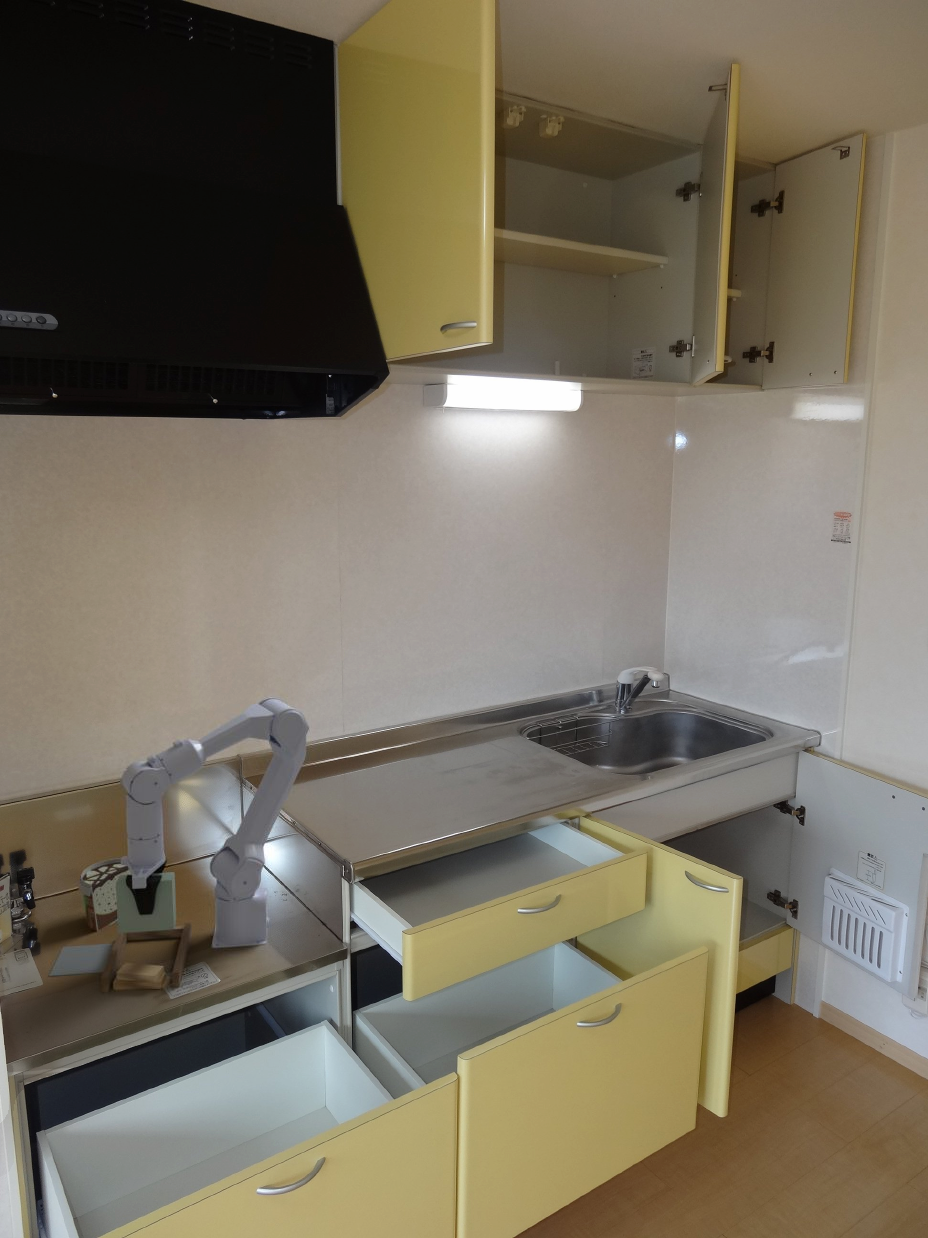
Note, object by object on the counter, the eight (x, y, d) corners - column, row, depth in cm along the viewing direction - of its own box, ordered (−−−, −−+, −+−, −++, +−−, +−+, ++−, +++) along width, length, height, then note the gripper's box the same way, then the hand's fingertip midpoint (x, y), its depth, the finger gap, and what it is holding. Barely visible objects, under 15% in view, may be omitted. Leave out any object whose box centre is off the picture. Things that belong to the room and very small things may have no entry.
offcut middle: (166, 978, 148) (165, 972, 148) (160, 989, 145) (160, 982, 145) (119, 978, 148) (119, 971, 148) (113, 988, 145) (113, 981, 145)
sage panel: (176, 920, 155) (174, 872, 153) (173, 929, 152) (172, 880, 150) (121, 924, 153) (119, 875, 151) (118, 933, 150) (115, 883, 149)
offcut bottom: (171, 983, 149) (171, 976, 149) (168, 993, 146) (167, 987, 146) (118, 986, 148) (118, 979, 147) (114, 996, 145) (114, 990, 145)
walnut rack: (191, 935, 162) (191, 920, 162) (179, 989, 146) (178, 972, 145) (122, 940, 160) (121, 924, 160) (101, 995, 144) (101, 978, 143)
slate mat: (117, 946, 158) (117, 943, 158) (106, 974, 149) (106, 971, 149) (63, 949, 157) (63, 947, 156) (49, 978, 148) (49, 976, 148)
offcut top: (163, 972, 148) (163, 966, 147) (155, 983, 145) (155, 976, 144) (125, 969, 148) (125, 962, 148) (116, 979, 145) (116, 972, 145)
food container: (114, 900, 174) (111, 852, 173) (139, 907, 172) (137, 858, 170) (65, 930, 163) (62, 879, 161) (91, 937, 161) (88, 885, 159)
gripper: (128, 817, 156) (131, 890, 158) (111, 853, 142) (114, 932, 144) (170, 815, 157) (172, 887, 159) (157, 850, 143) (160, 929, 145)
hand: (148, 908), depth 152 cm, fingers closed on sage panel, 3 cm apart
